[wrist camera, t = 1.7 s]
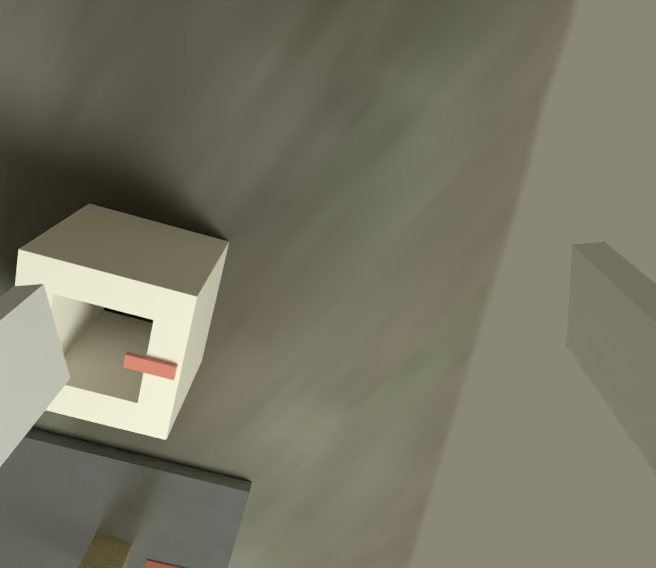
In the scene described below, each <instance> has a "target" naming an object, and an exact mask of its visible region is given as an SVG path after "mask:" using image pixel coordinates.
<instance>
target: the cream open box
mask: <svg viewBox="0 0 656 568" xmlns="http://www.w3.org/2000/svg"><path fill="white" fill-rule="evenodd" d="M228 245H229V241H225V240H221V239H218V238H214V237H210V236H207V235H203V234H199V233H196V232H192V231H188V230H185V229H181V228H177V227H174V226H170V225H166V224H163V223H159V222H155V221H152V220H148V219H144V218H141V217H137V216H133V215H130V214H126V213H122V212H119V211H115V210H111V209H108V208H104V207H100V206H97V205H93V204H88V205H86V206H85V207H83V208H81V209H80V210H78V211H77V212H75V213H74V214H72V215H71V216H69V217H68V218H66V219H64V220H63V221H61V222H60V223H58V224H57V225H55V226H54V227H52V228H51V229H49V230H47V231H46V232H44V233H43V234H41V235H40V236H38V237H37V238H35V239H33V240H32V241H30V242H29V243H27V244H26V245H24V246H23V247H21V248H20V249H18V259H17V269H16V280H15V286H23V285H36V284H44V287H45V290H46V294H47V297H48V301H49V304H50V308H51V312H52V315H53V319H54V322H55V326H56V329H57V333H58V336H59V340H60V343H61V347H62V350H63V354H64V357H65V361H66V365H67V368H68V372H69V375H70V379H69V381H68V382H67V383H66V385H65V386H64V387H63V388H62V390H61V391H60V392H59V393H58V395H57V396H56V397H55V398H54V400H53V401H52V402H51V403H50V405H49V406H48V407H47V409H46V410H47V411H51V412H55V413H59V414H63V415H67V416H71V417H75V418H79V419H84V420H88V421H92V422H96V423H100V424H104V425H108V426H112V427H116V428H120V429H124V430H128V431H132V432H136V433H140V434H144V435H148V436H152V437H156V438H160V439H164V440H166V439H167V437H168V434H169V432H170V430H171V428H172V426H173V423H174V421H175V419H176V417H177V415H178V412H179V410H180V408H181V406H182V404H183V401H184V399H185V397H186V395H187V392H188V390H189V388H190V386H191V384H192V381H193V379H194V377H195V375H196V373H197V370H198V368H199V366H200V364H201V362H202V357H203V353H204V349H205V344H206V340H207V336H208V331H209V327H210V323H211V318H212V314H213V310H214V305H215V301H216V297H217V292H218V288H219V284H220V279H221V275H222V271H223V266H224V262H225V258H226V253H227V249H228ZM104 307H106V308H109V309H113V310H117V311H121V312H125V313H128V314H132V315H136V316H140V317H144V318H148V319H151V320H153V323H150V322H146V321H142V320H139V319H135V318H131V317H127V316H123V315H119V314H116V313H112V312H108V311H104Z"/></svg>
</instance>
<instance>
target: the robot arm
mask: <svg viewBox="0 0 656 568" xmlns="http://www.w3.org/2000/svg"><path fill="white" fill-rule="evenodd" d="M569 294H570V295H569V309H568V326H567V343H566V346H567V348H568V349H569V351H570V352H571V353H572V355H573V356H574V358H575V359H576V361H577V362H578V363H579V365H580V366H581V368H582V369H583V371H584V372H585V374H586V375H587V376H588V378H589V379H590V381H591V382H592V384H593V385H594V387H595V388H596V389H597V391H598V392H599V394H600V395H601V397H602V398H603V400H604V401H605V402H606V404H607V405H608V407H609V408H610V410H611V411H612V412H613V414H614V415H615V417H616V418H617V420H618V421H619V422H620V424H621V425H622V427H623V428H624V430H625V431H626V433H627V434H628V436H629V437H630V438H631V440H632V441H633V443H634V444H635V446H636V447H637V448H638V450H639V451H640V453H641V454H642V456H643V457H644V459H645V460H646V461H647V463H648V464H649V466H650V467H651V469H652V470H653V471H654V473H655V474H656V283H654V282H653V281H652V280H651V279H650V278H648V277H647V276H646V275H645V274H643V273H642V272H641V271H640V270H639V269H637V268H636V267H635V266H634V265H633V264H631V263H630V262H629V261H628V260H626V259H625V258H624V257H623V256H622V255H620V254H619V253H618V252H617V251H615V250H614V249H613V248H612V247H610V246H609V245H608V244H607V243H606V242H597V243H584V244H573V245H572V261H571V277H570V293H569ZM69 379H70V375H69V372H68V368H67V365H66V361H65V357H64V354H63V350H62V347H61V343H60V340H59V336H58V333H57V329H56V326H55V322H54V319H53V315H52V312H51V308H50V304H49V301H48V297H47V294H46V290H45V287H44V284H36V285H23V286H14V287H13V288H11V289H10V290H9V291H8V292H6V293H5V294H4V295H2V296H1V297H0V467H1V465H2V464H3V463H4V462H5V460H6V459H7V458H8V457H9V455H10V454H11V453H12V452H13V450H14V449H15V448H16V446H17V445H18V444H19V443H20V441H21V440H22V439H23V438H24V436H25V435H26V434H27V433H28V431H29V430H30V429H31V428H32V426H33V425H34V424H35V422H36V421H37V420H38V419H39V417H40V416H41V415H42V414H43V412H44V411H45V410H46V409H47V407H48V406H49V405H50V403H51V402H52V401H53V400H54V398H55V397H56V396H57V395H58V393H59V392H60V391H61V390H62V388H63V387H64V386H65V385H66V383H67V382H68V381H69Z"/></svg>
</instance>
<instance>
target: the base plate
mask: <svg viewBox="0 0 656 568" xmlns="http://www.w3.org/2000/svg"><path fill="white" fill-rule="evenodd" d="M250 487H251V482H250V481H246V480H242V479H237V478H233V477H229V476H225V475H221V474H217V473H213V472H209V471H205V470H201V469H197V468H193V467H189V466H184V465H180V464H176V463H172V462H168V461H164V460H160V459H156V458H152V457H148V456H144V455H140V454H136V453H132V452H127V451H123V450H119V449H115V448H111V447H107V446H103V445H99V444H95V443H91V442H87V441H83V440H79V439H74V438H70V437H66V436H62V435H58V434H54V433H50V432H46V431H42V430H38V429H34V428H31V429H30V430H29V431H28V433H27V434H26V435H25V436H24V438H23V439H22V440H21V441H20V443H19V444H18V445H17V446H16V448H15V449H14V450H13V452H12V453H11V454H10V455H9V457H8V458H7V459H6V460H5V462H4V463H3V464H2V465H1V467H0V568H228V564H229V561H230V557H231V554H232V550H233V547H234V543H235V540H236V537H237V533H238V530H239V526H240V523H241V519H242V516H243V512H244V509H245V505H246V502H247V499H248V495H249V491H250Z"/></svg>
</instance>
